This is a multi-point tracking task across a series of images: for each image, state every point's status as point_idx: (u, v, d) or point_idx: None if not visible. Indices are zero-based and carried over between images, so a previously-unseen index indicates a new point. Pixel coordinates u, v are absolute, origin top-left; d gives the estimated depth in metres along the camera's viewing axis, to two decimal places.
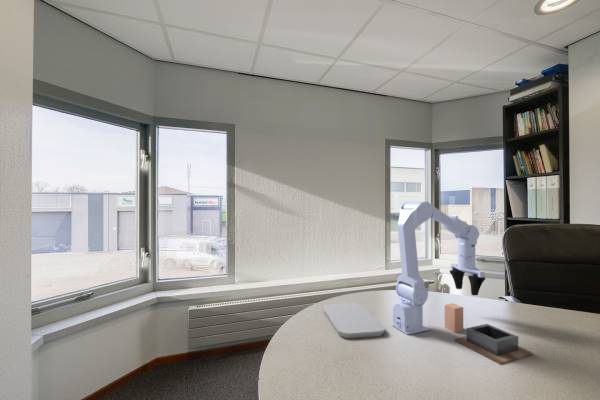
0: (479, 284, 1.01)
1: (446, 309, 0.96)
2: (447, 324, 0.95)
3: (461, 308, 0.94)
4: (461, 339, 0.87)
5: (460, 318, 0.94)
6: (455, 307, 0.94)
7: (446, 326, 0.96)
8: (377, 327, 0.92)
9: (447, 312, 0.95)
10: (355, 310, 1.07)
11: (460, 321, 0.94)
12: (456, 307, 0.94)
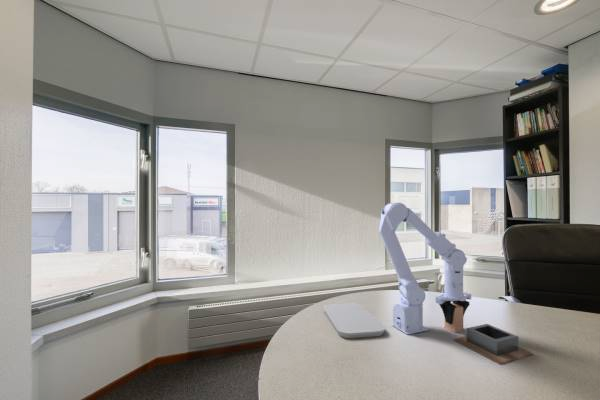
0: None
1: None
2: (447, 324, 0.95)
3: (461, 308, 0.94)
4: (461, 339, 0.87)
5: (460, 318, 0.94)
6: None
7: (446, 326, 0.96)
8: (377, 327, 0.92)
9: None
10: (355, 310, 1.07)
11: (460, 321, 0.94)
12: (456, 307, 0.94)
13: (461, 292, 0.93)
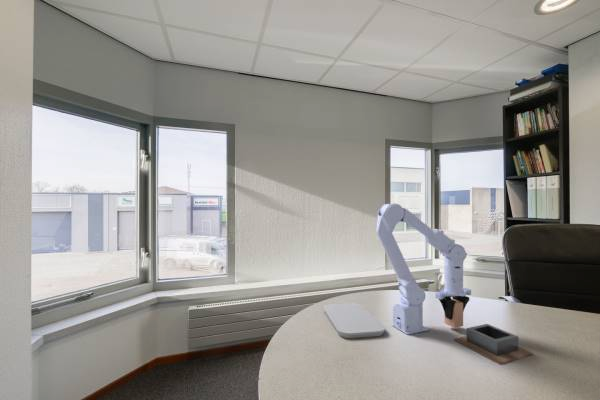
0: None
1: None
2: (447, 319, 0.95)
3: (461, 303, 0.94)
4: (461, 339, 0.87)
5: (460, 313, 0.94)
6: None
7: (446, 321, 0.96)
8: (377, 327, 0.92)
9: None
10: (355, 310, 1.07)
11: (460, 316, 0.94)
12: (456, 302, 0.94)
13: (461, 287, 0.93)
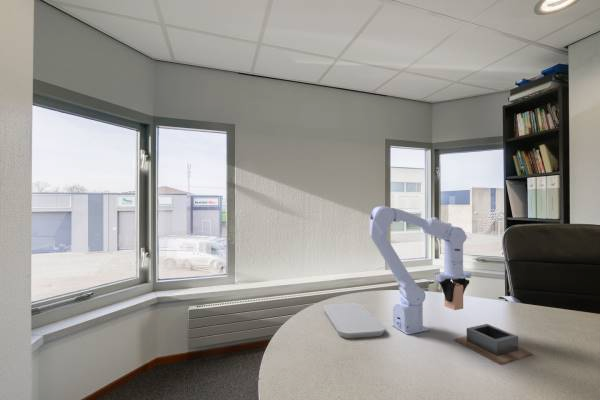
0: None
1: None
2: (447, 302, 0.96)
3: (461, 286, 0.94)
4: (461, 339, 0.87)
5: (460, 296, 0.94)
6: (455, 285, 0.94)
7: (446, 304, 0.96)
8: (377, 327, 0.92)
9: None
10: (355, 310, 1.07)
11: (460, 299, 0.94)
12: (456, 285, 0.94)
13: (461, 270, 0.93)
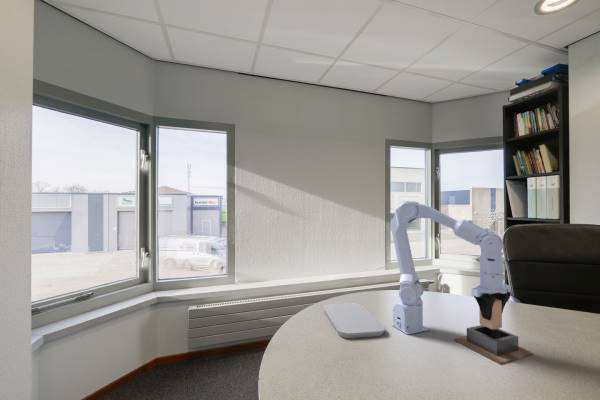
0: None
1: None
2: (483, 320, 0.84)
3: (499, 302, 0.82)
4: (461, 339, 0.87)
5: (498, 313, 0.82)
6: None
7: (481, 322, 0.84)
8: (377, 328, 0.92)
9: None
10: (355, 310, 1.07)
11: (498, 316, 0.82)
12: None
13: (501, 283, 0.81)
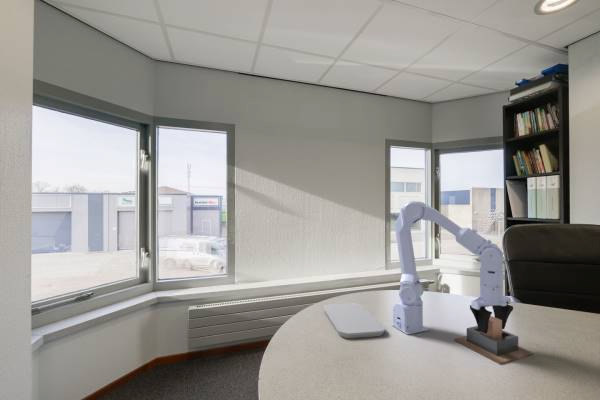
0: None
1: None
2: None
3: (500, 321, 0.82)
4: (461, 339, 0.87)
5: (499, 333, 0.82)
6: (493, 320, 0.82)
7: None
8: (378, 328, 0.92)
9: None
10: (355, 310, 1.07)
11: (499, 336, 0.82)
12: (494, 320, 0.82)
13: (501, 296, 0.81)
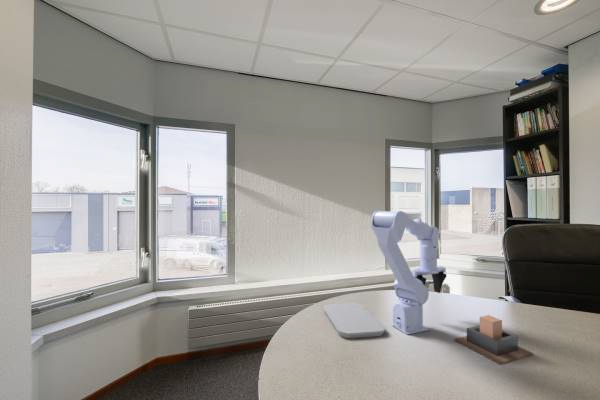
0: None
1: (482, 322, 0.84)
2: None
3: (500, 321, 0.82)
4: (461, 339, 0.87)
5: (499, 333, 0.82)
6: (493, 320, 0.82)
7: None
8: (378, 328, 0.92)
9: (483, 326, 0.84)
10: (355, 310, 1.07)
11: (499, 336, 0.82)
12: (494, 320, 0.82)
13: (434, 265, 1.01)
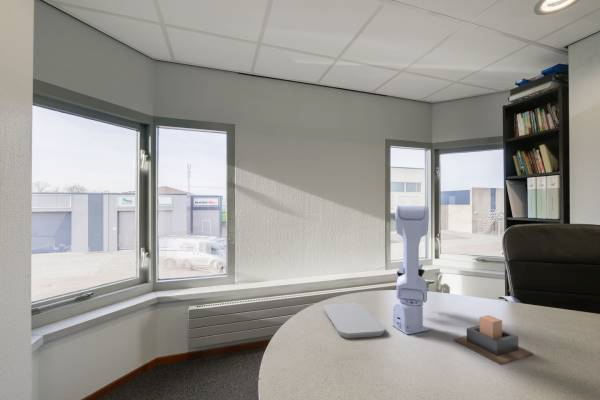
0: None
1: (482, 322, 0.84)
2: None
3: (500, 321, 0.82)
4: (461, 339, 0.87)
5: (499, 333, 0.82)
6: (493, 320, 0.82)
7: None
8: (378, 328, 0.92)
9: (483, 326, 0.84)
10: (355, 310, 1.07)
11: (499, 336, 0.82)
12: (494, 320, 0.82)
13: (417, 262, 1.08)
